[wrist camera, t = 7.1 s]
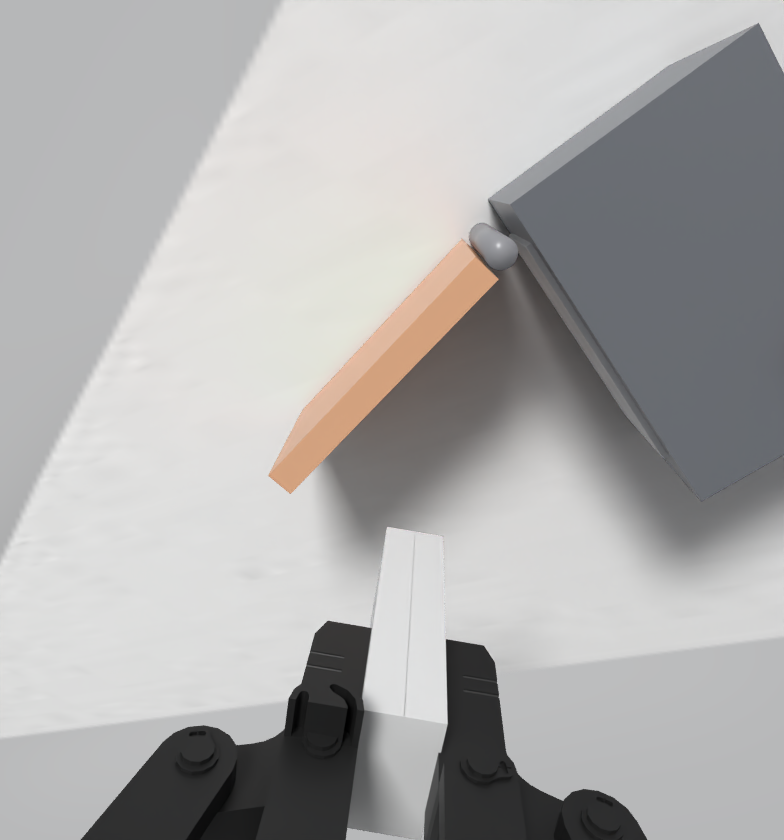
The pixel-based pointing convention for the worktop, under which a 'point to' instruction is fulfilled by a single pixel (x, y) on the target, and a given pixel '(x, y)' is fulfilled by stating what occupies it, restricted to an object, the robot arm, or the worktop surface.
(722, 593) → the worktop surface
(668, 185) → the camera housing
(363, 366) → the side door
